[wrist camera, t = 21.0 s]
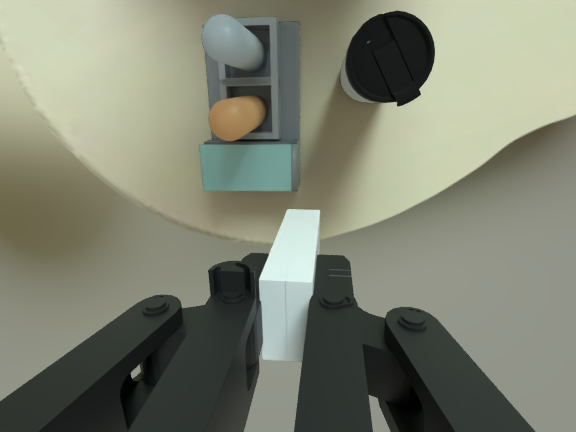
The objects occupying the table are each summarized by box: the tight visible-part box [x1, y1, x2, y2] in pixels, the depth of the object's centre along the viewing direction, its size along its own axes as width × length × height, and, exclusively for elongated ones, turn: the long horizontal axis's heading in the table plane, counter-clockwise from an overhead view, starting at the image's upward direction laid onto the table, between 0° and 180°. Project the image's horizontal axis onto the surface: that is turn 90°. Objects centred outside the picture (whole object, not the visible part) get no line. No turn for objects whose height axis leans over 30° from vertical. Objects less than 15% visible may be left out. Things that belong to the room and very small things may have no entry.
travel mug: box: [340, 11, 435, 106], centre depth 34 cm, size 6×7×20 cm
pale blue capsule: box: [202, 14, 267, 72], centre depth 37 cm, size 4×4×12 cm
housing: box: [203, 16, 300, 187], centre depth 44 cm, size 20×12×4 cm, turn 1°
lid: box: [199, 144, 298, 191], centre depth 43 cm, size 6×12×1 cm, turn 91°
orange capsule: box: [209, 95, 268, 141], centre depth 39 cm, size 4×4×12 cm
